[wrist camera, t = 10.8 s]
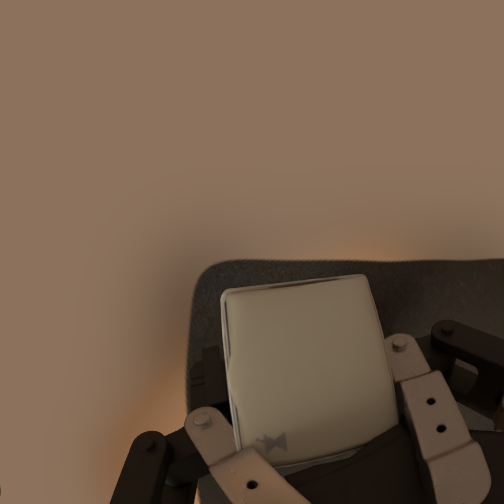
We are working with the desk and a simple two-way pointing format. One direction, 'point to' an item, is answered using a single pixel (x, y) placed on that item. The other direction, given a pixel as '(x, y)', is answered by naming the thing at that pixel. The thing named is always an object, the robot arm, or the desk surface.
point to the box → (306, 369)
